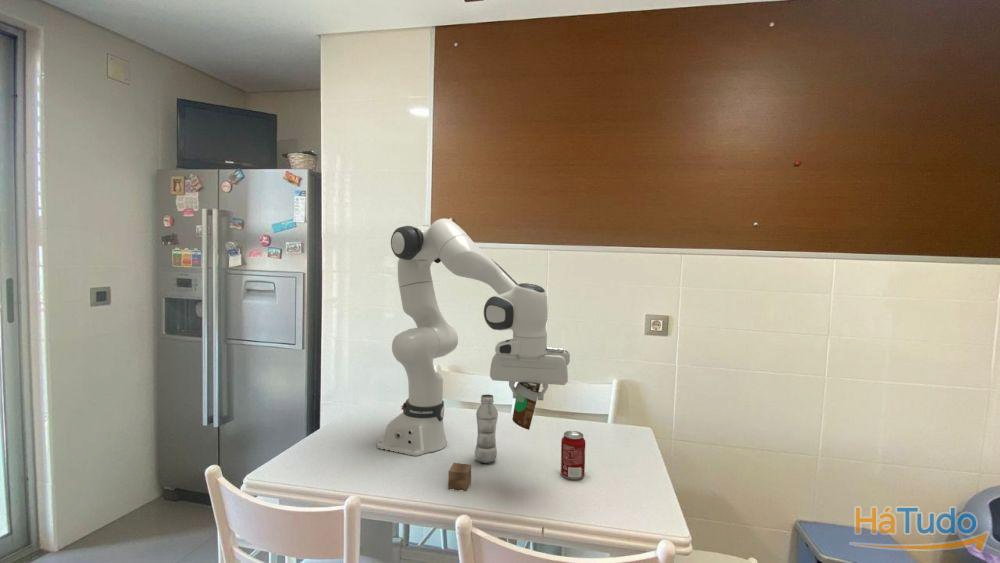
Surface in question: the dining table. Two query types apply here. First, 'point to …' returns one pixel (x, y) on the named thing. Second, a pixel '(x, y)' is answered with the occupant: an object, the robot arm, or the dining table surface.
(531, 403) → the food container
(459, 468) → the walnut block
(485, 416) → the plastic bottle
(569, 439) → the soda can
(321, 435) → the dining table surface
